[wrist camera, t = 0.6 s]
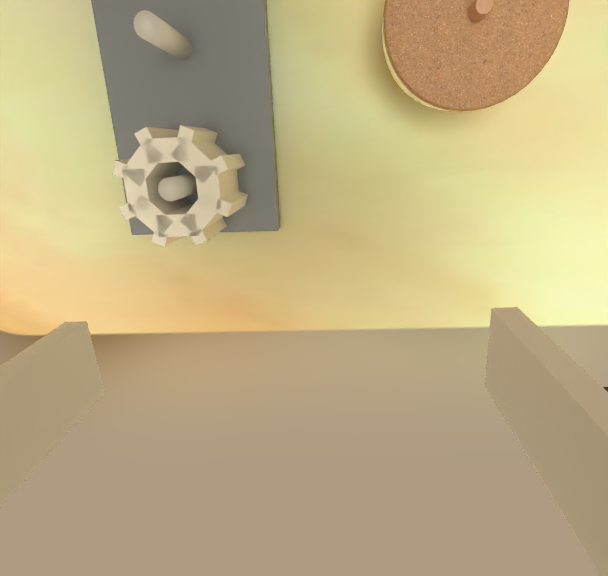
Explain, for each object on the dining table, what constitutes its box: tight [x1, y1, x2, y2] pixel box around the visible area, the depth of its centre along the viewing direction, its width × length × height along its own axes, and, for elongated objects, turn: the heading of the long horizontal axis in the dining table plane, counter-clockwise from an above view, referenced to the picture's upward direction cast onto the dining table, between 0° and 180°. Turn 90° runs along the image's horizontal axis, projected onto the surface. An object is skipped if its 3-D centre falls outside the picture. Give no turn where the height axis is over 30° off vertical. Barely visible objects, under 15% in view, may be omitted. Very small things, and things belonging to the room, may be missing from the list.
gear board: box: [91, 0, 280, 247], centre depth 32 cm, size 19×13×8 cm
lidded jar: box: [382, 0, 569, 111], centre depth 28 cm, size 11×11×9 cm
